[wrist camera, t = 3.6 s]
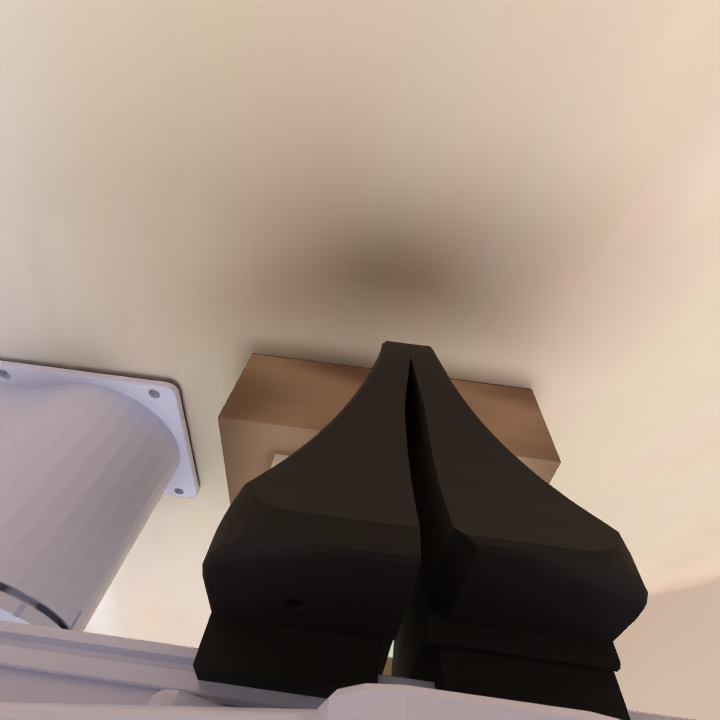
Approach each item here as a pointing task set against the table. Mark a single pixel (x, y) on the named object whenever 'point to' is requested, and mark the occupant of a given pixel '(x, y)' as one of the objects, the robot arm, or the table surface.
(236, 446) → the block
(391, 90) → the table surface
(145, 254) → the table surface
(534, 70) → the table surface
